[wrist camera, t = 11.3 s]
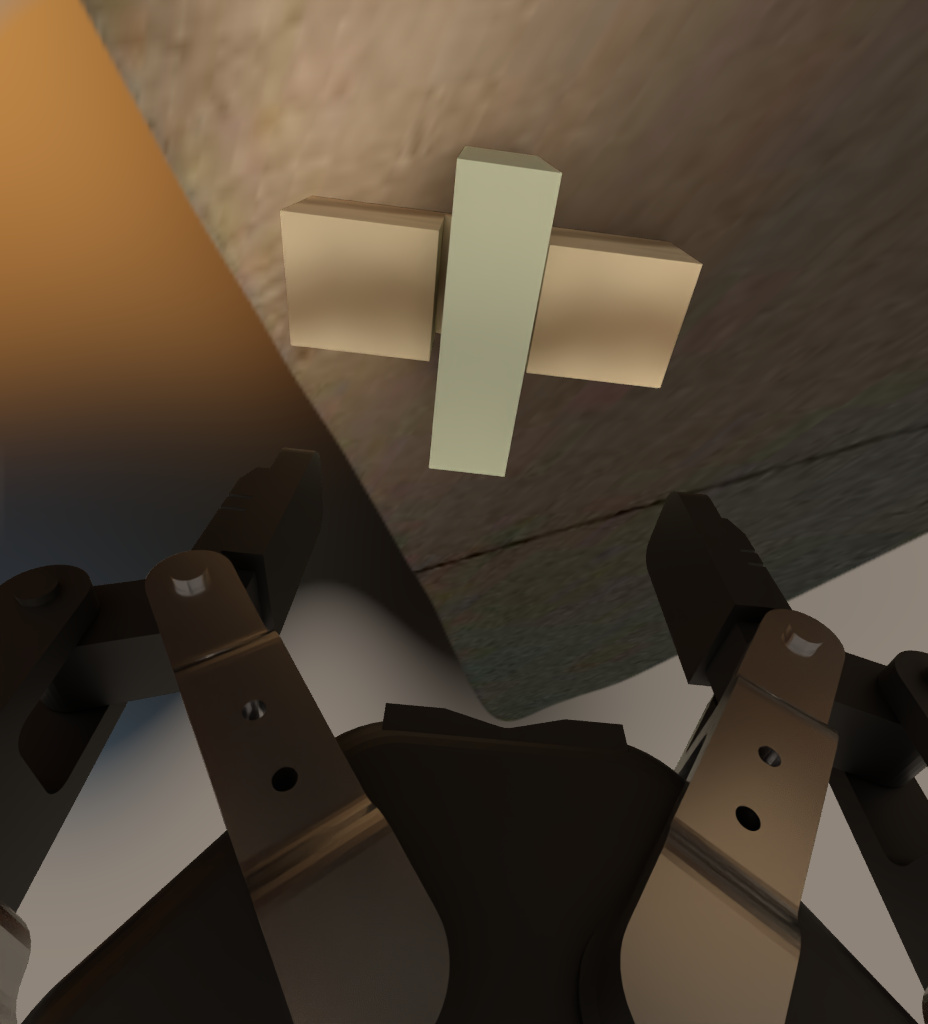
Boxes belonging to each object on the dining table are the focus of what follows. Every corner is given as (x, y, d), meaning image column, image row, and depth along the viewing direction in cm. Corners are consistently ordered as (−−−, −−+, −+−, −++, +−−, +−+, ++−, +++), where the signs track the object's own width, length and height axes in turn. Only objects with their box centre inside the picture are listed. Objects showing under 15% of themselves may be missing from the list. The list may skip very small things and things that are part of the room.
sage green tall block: (465, 145, 26) (457, 158, 18) (537, 155, 26) (562, 173, 18) (442, 381, 33) (429, 468, 25) (499, 388, 33) (504, 476, 25)
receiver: (312, 195, 28) (279, 210, 24) (668, 241, 29) (702, 264, 24) (317, 313, 32) (291, 345, 27) (635, 351, 32) (659, 388, 28)
